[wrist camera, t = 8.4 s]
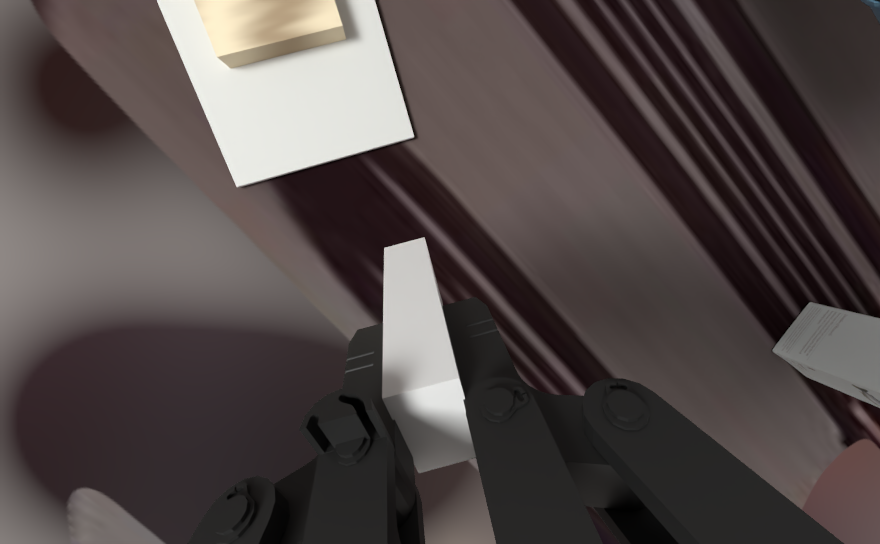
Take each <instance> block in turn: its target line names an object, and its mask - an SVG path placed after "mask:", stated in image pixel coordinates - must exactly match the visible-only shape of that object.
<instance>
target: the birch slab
mask: <svg viewBox="0 0 880 544" xmlns="http://www.w3.org/2000/svg"><path fill="white" fill-rule="evenodd" d="M194 2H195V4H196V7H197V9H198V12H199V14H200V16H201V19H202V21H203V24H204V26H205V29H206V31H207V34H208V36H209V39H210V41H211V44H212V46H213V49H214V51H215V54H216V56H217V57H218V58H219V59H220V60H221V61H222V62H223V63H225V64H226V65H227V66H228V67H229V68H230V69H231V68H235V67H239V66H243V65H247V64H251V63H255V62H259V61H262V60H266V59H270V58H274V57H278V56H282V55H286V54H290V53H294V52H298V51H302V50H306V49H310V48H314V47H318V46H322V45H326V44H330V43H334V42H338V41H342V40H345V39H346V36H345V33H344V29H343V25H342V22H341V19H340V16H339V12H338V9H337V6H336V3H335V0H194Z"/></svg>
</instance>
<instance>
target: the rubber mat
mask: <svg viewBox="0 0 880 544" xmlns="http://www.w3.org/2000/svg"><path fill="white" fill-rule="evenodd" d="M157 2H158V4H159V7H160V9H161V11H162V14H163V16H164V18H165V21H166V23H167V25H168V28H169V30H170V32H171V35H172V37H173V39H174V42H175V44H176V46H177V49H178V51H179V53H180V56H181V58H182V60H183V63H184V65H185V67H186V70H187V72H188V74H189V77H190V79H191V81H192V84H193V86H194V88H195V91H196V93H197V95H198V98H199V100H200V102H201V105H202V107H203V109H204V112H205V114H206V116H207V119H208V121H209V123H210V126H211V128H212V130H213V133H214V135H215V137H216V140H217V142H218V144H219V147H220V149H221V151H222V154H223V156H224V158H225V161H226V163H227V165H228V168H229V170H230V172H231V175H232V177H233V179H234V182H235V184H236V186H237V187H243V186H247V185H250V184H254V183H257V182H261V181H265V180H268V179H272V178H275V177H279V176H282V175H286V174H289V173H293V172H296V171H300V170H303V169H307V168H310V167H314V166H317V165H321V164H324V163H328V162H332V161H335V160H339V159H342V158H346V157H349V156H353V155H356V154H360V153H363V152H367V151H370V150H374V149H377V148H381V147H384V146H388V145H392V144H395V143H399V142H402V141H406V140H409V139H413V138H414V134H413V131H412V127H411V124H410V120H409V117H408V113H407V110H406V106H405V103H404V100H403V96H402V93H401V89H400V86H399V82H398V79H397V75H396V72H395V68H394V65H393V61H392V58H391V55H390V51H389V48H388V44H387V41H386V37H385V34H384V30H383V27H382V23H381V20H380V16H379V13H378V10H377V6H376V3H375V0H335V3H336V6H337V9H338V12H339V16H340V19H341V22H342V25H343V29H344V33H345V36H346V39H345V40H342V41H338V42H334V43H330V44H326V45H322V46H318V47H314V48H310V49H306V50H302V51H298V52H294V53H290V54H286V55H282V56H278V57H274V58H270V59H266V60H262V61H259V62H255V63H251V64H247V65H243V66H239V67H235V68H231V69H230V68H229V67H228V66H227V65H226V64H225V63H223V62H222V61H221V60H220V59H219V58H218V57H217V56H216V54H215V51H214V49H213V46H212V44H211V41H210V39H209V36H208V34H207V31H206V29H205V26H204V24H203V21H202V19H201V16H200V14H199V12H198V9H197V7H196V4H195V2H194V0H157Z"/></svg>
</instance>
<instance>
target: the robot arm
mask: <svg viewBox="0 0 880 544" xmlns="http://www.w3.org/2000/svg"><path fill="white" fill-rule="evenodd" d="M861 1H862V2H863V3H865V4H866V5H868V6H870V8H871V10H872V11H873V13H874V15H875V17H876V19H877V20H878V22H879V24H880V0H861ZM345 372H346V374H345V375H344V381H343V388H342V389H339V390H337V391H335V392H332V393H330V394H327V395H326V396H325V397H323V398H322V399H321V400H319V401H318V402H317V403H315V404H314V406H313V407H312V408H311V409H310V411H309V412H308V413H307V414H306V415H305V417H304V420H303V422H302V424H301V426H300V431H301V432H302V434H303V435H304V436H305V438H306V439H307V440H308V442H309V443H310V444H311V445H312V447H313V448H314V450H315V451H316V452H317V454H318V456H316V458H315V459H313V460H312V461H311V462H309V463H307V464H306V465H305V466H303V467H301V468H300V469H298V470H296V471H295V472H293V473H291V474H290V475H288V476H287V477H285V478H283V479H281V480H280V481H278V482H276V483H275V484H273V483H272V482H271V481H270V480H269V479H268V478H264V477H260V476H255V477H251V478H247V479H244V480H242V481H240V482H238V483H237V484H235V485H233V486H232V487H230V488H229V489H228V490H227V491H226V492H224V493H223V494H222V495H221V496H220V497H219V498H218V499H217V500H216V501H215V502H214V503H213V505H212V506H211V507H210V509H209V510H208V511H207V513H206V514H205V515H204V517H203V518H202V520H201V522H200V523H199V525H198V527H197V528H196V530H195V532H194V533H193V535H192V537H191V539H190V540H189V542H188V543H187V544H425V536H424V525H423V513H422V502H421V498H420V495H419V491H418V489H417V487H416V485H415V475H414V465H415V467H416V469H417V471H418V473H422V472H425V471H429V470H433V469H436V468H440V467H444V466H447V465H451V464H454V463H458V462H462V461H465V460H469V459H473V458H476V459H477V464H478V468H479V472H480V476H481V480H482V485H483V489H484V493H485V497H486V502H487V506H488V510H489V514H490V518H491V522H492V527H493V531H494V535H495V540H496V544H603V543H602V541H601V539H600V537H599V535H598V532H597V530H596V528H595V526H594V524H593V522H592V520H591V517H590V515H589V513H588V511H587V509H586V507H585V506H591V507H593V508H594V509H595V510H596V512H597V513H598V514H599V516H600V517H601V518H602V520H603V521H604V522H605V524H606V525H607V526H608V528H609V529H610V530H611V532H612V533H613V535H614V536H615V537H616V539H617V540H618V541H619V543H620V544H844V543H843V542H841V541H840V540H839V539H837V538H836V537H835V536H834V535H833V534H831V533H830V532H829V531H827V530H826V529H825V528H824V527H822V526H821V525H820V524H819V523H817V522H816V521H815V520H814V519H812V518H811V517H810V516H809V515H807V514H806V513H805V512H804V511H802V510H801V509H800V508H799V507H797V506H796V505H795V504H794V503H792V502H791V501H790V500H789V499H787V498H786V497H785V496H784V495H782V494H781V493H780V492H779V491H777V490H776V489H775V488H774V487H772V486H771V485H770V484H769V483H767V482H766V481H765V480H764V479H762V478H761V477H760V476H759V475H757V474H756V473H755V472H754V471H752V470H751V469H750V468H749V467H747V466H746V465H745V464H743V463H742V462H741V461H740V460H738V459H737V458H736V457H735V456H733V455H732V454H731V453H730V452H728V451H727V450H726V449H725V448H723V447H722V446H721V445H720V444H718V443H717V442H716V441H715V440H713V439H712V438H711V437H710V436H708V435H707V434H706V433H705V432H703V431H702V430H701V429H700V428H698V427H697V426H696V425H695V424H693V423H692V422H691V421H690V420H688V419H687V418H686V417H685V416H683V415H682V414H681V413H680V412H678V411H677V410H676V409H675V408H673V407H672V406H671V405H670V404H668V403H667V402H666V401H664V400H663V399H662V398H661V397H659V396H658V395H657V394H656V393H654V392H653V391H651V390H649V389H648V388H646V387H644V386H643V385H641V384H639V383H636V382H633V381H629V380H626V379H611V378H608V379H604V380H601V381H598V382H595V383H594V384H593V385H591V386H590V387H589V388H588V389H587V390H586V392H585V394H584V396H571V395H554V394H547V393H544V392H541V391H538V390H536V389H534V388H532V387H530V386H529V385H527V384H526V383H525V382H524V381H523V380H522V379H521V378H520V376H519V375H518V373H517V371H516V369H515V367H514V365H513V362H512V360H511V358H510V356H509V354H508V351H507V349H506V347H505V345H504V343H503V340H502V338H501V336H500V334H499V331H498V330H497V327H496V325H495V323H494V320H493V318H492V316H491V314H490V312H489V309H488V307H487V305H485V304H484V303H482V302H481V301H480V300H478V299H477V298H476V297H474V298H470V299H466V300H463V301H459V302H455V303H451V304H448V305H444V306H443V304H442V300H441V296H440V292H439V289H438V285H437V281H436V278H435V274H434V270H433V267H432V263H431V259H430V256H429V252H428V248H427V245H426V241H425V237H424V238H420V239H416V240H412V241H409V242H405V243H401V244H397V245H394V246H390V247H386V248H384V303H383V323H382V324H378V325H374V326H370V327H367V328H363V329H359V330H357V332H356V333H355V335H354V337H353V338H352V340H351V341H350V343H349V347H348V354H347V362H346V368H345Z"/></svg>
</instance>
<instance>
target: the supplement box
mask: <svg viewBox="0 0 880 544" xmlns="http://www.w3.org/2000/svg"><path fill="white" fill-rule="evenodd" d="M772 351H773V352H774V353H775V354H777V355H778V356H780V357H781V358H783V359H784V360H786V361H787V362H788V363H790V364H791V365H792V366H793V367H795V368H796V369H797V370H799V371H800V372H801V373H802V374H803V375H805V376H806V377H808V378H810V379H812V380H815V381H817V382H820V383H822V384H824V385H827V386H829V387H831V388H834V389H836V390H839V391H841V392H843V393H846V394H848V395H850V396H853V397H855V398H857V399H860V400H862V401H865V402H867V403H869V404H872V405H874V406H877V407H879V408H880V318H876V317H872V316H867V315H863V314H859V313H854V312H850V311H846V310H842V309H838V308H834V307H829V306H825V305H821V304H817V303H813V302H809V303H808V305H807V306H806V307H805V308H804V309H803V311H802V312H801V313H800V315H799V316H798V317H797V318H796V320H795V321H794V322H793V323H792V325H791V326H790V327H789V328H788V330H787V331H786V332H785V334H784V335H783V336H782V338H781V339H780V340H779V342H778V343H777V344H776V345H775V347H774V348H773V350H772Z"/></svg>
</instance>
